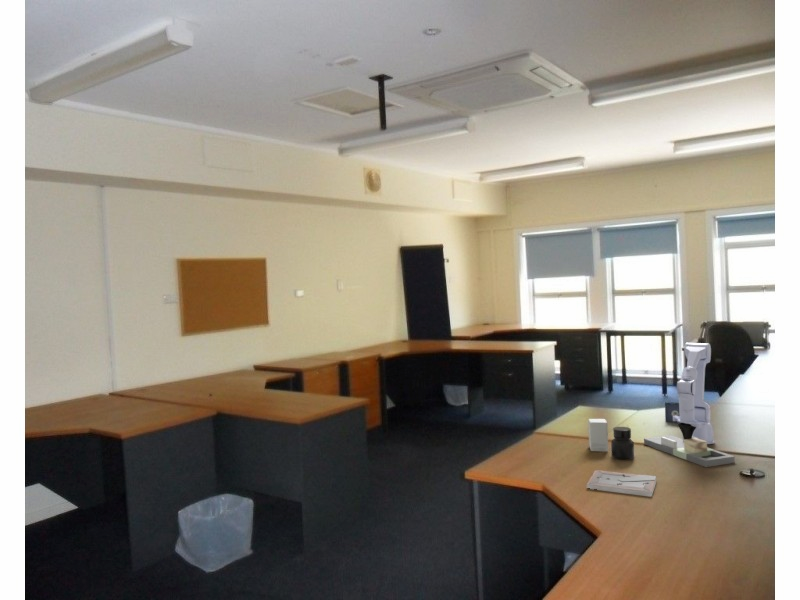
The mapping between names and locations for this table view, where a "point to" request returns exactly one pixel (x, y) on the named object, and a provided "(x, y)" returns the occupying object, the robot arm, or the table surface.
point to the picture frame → (622, 483)
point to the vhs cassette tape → (672, 411)
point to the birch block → (695, 445)
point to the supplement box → (598, 434)
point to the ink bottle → (622, 444)
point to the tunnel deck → (677, 449)
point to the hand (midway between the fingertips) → (687, 441)
